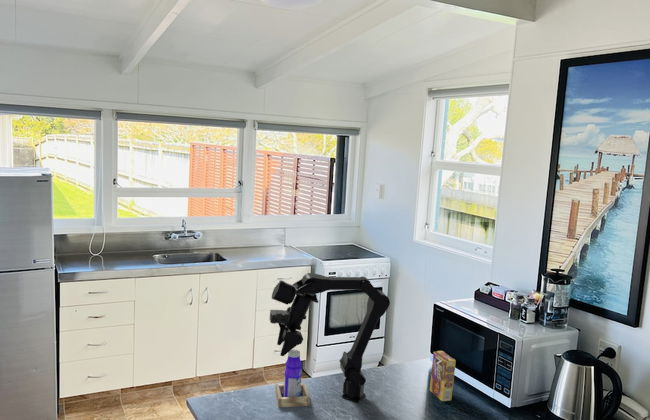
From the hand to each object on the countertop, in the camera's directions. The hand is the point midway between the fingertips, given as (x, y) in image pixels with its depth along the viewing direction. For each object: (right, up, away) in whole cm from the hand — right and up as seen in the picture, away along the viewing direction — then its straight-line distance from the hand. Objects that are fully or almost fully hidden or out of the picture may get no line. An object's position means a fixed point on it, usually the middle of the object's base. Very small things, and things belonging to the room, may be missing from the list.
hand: (280, 350), depth 188 cm
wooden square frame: (+4, -18, +4) cm, 19 cm away
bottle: (+4, -18, +4) cm, 19 cm away
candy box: (+57, -20, +13) cm, 62 cm away
